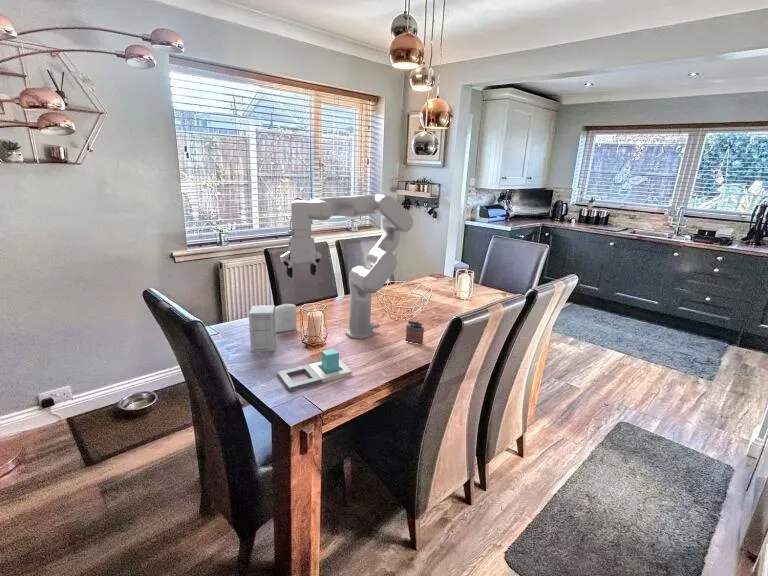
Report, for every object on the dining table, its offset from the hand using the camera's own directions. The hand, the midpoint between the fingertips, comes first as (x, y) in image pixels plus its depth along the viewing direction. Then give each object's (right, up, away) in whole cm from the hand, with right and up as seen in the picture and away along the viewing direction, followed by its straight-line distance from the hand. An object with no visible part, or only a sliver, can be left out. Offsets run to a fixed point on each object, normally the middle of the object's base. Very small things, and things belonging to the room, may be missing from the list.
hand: (301, 275), depth 159 cm
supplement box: (-17, -30, +5) cm, 34 cm away
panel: (+8, -37, -15) cm, 40 cm away
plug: (+13, -36, -12) cm, 40 cm away
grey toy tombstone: (-12, -24, +23) cm, 35 cm away
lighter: (+46, -29, +17) cm, 57 cm away
